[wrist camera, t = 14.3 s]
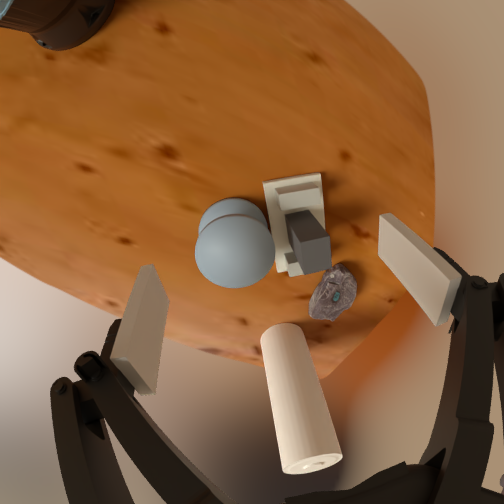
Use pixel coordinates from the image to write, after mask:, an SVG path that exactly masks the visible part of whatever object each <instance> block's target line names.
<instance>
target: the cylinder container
mask: <svg viewBox="0 0 504 504" xmlns="http://www.w3.org/2000/svg"><path fill="white" fill-rule="evenodd" d="M261 347H262V353H263V359H264V365H265V370H266V376H267V382H268V388H269V394H270V399H271V405H272V411H273V417H274V423H275V428H276V434H277V440H278V446H279V452H280V457H281V462H282V469H283V472H285V473H288V474H302V473H308V472H313V471H317V470H320V469H323V468H326V467H329V466H331V465H333V464H335V463H337V462H338V461H340V459H342V453H341V449H340V446H339V443H338V440H337V436H336V433H335V430H334V426H333V423H332V420H331V417H330V414H329V411H328V407H327V404H326V401H325V398H324V395H323V392H322V388H321V385H320V382H319V379H318V376H317V373H316V370H315V367H314V364H313V361H312V357H311V354H310V351H309V348H308V345H307V342H306V339H305V336H304V333H303V331H302V329H301V328H300V327H299V326H297V325H295V324H292V323H281V324H277V325H274V326H272V327H270V328H269V329H267V330H266V331H265V332H264V333H263V335H262V337H261Z"/></svg>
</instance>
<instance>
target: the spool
mask: <svg viewBox="0 0 504 504" xmlns="http://www.w3.org/2000/svg"><path fill="white" fill-rule="evenodd" d="M275 252H276V251H275V244H274V241H273V238H272V236H271V233H270V232H269V230H268V226H267V222H266V219H265V217H264V215H263V213H262V212H261V210H260V209H259V208H258V207H257V206H256V205H255V204H253V203H252V202H250V201H248V200H245V199H241V198H226V199H222V200H220V201H217V202H216V203H214V204H212V205H211V206H210V207H209V208H208V209H207V210H206V211H205V213H204V214H203V216H202V218H201V221H200V225H199V236H198V239H197V243H196V248H195V259H196V263H197V266H198V268H199V270H200V271H201V273H202V274H203V275H204V276H205V277H206V278H207V279H208V280H210V281H211V282H213V283H215V284H217V285H219V286H222V287H227V288H242V287H246V286H249V285H252V284H254V283H256V282H258V281H259V280H261V279H262V278H263V277H264V276H265V275H266V274H267V273H268V272H269V270H270V269H271V267H272V265H273V263H274V260H275Z"/></svg>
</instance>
